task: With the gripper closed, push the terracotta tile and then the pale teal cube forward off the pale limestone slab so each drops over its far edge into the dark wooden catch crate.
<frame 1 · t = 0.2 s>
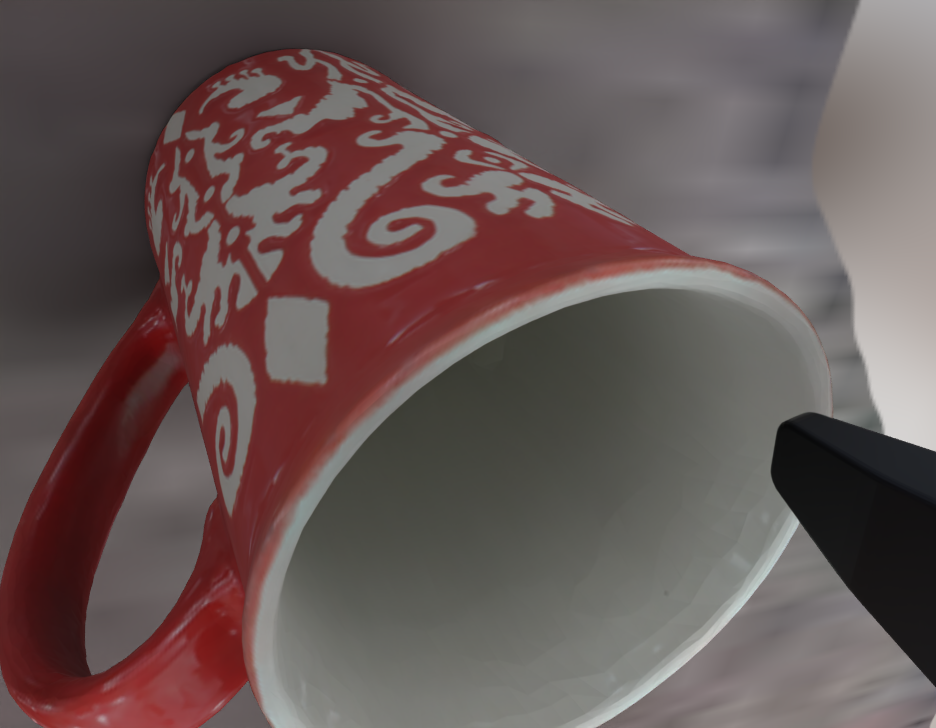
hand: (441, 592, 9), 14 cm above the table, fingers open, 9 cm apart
mug: (231, 221, 22), on the table
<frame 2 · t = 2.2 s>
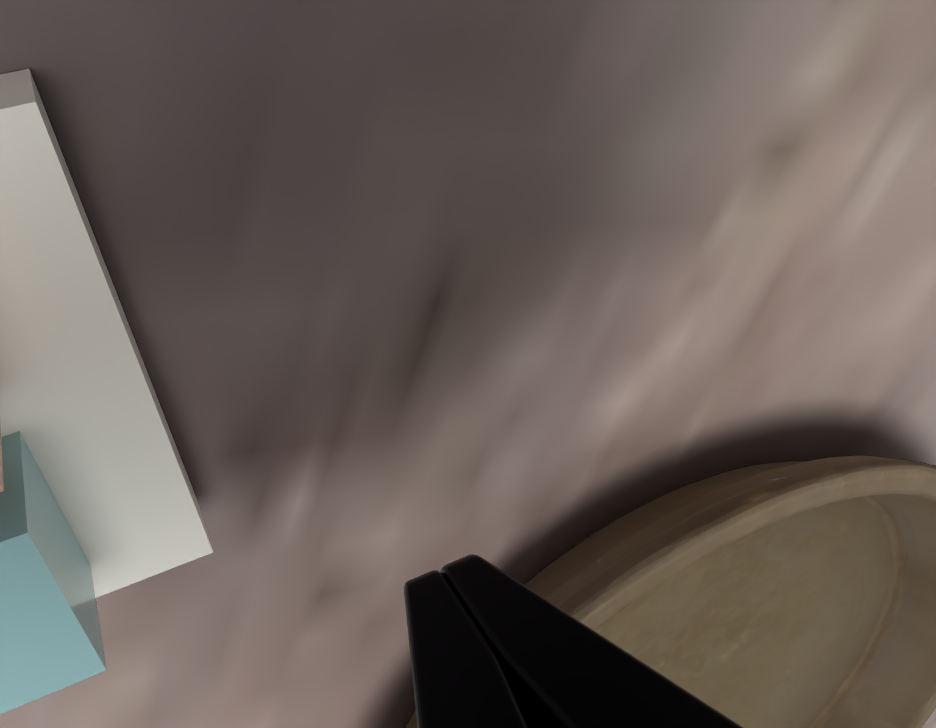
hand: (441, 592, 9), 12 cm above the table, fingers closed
plant saucer: (651, 690, 40), on the table
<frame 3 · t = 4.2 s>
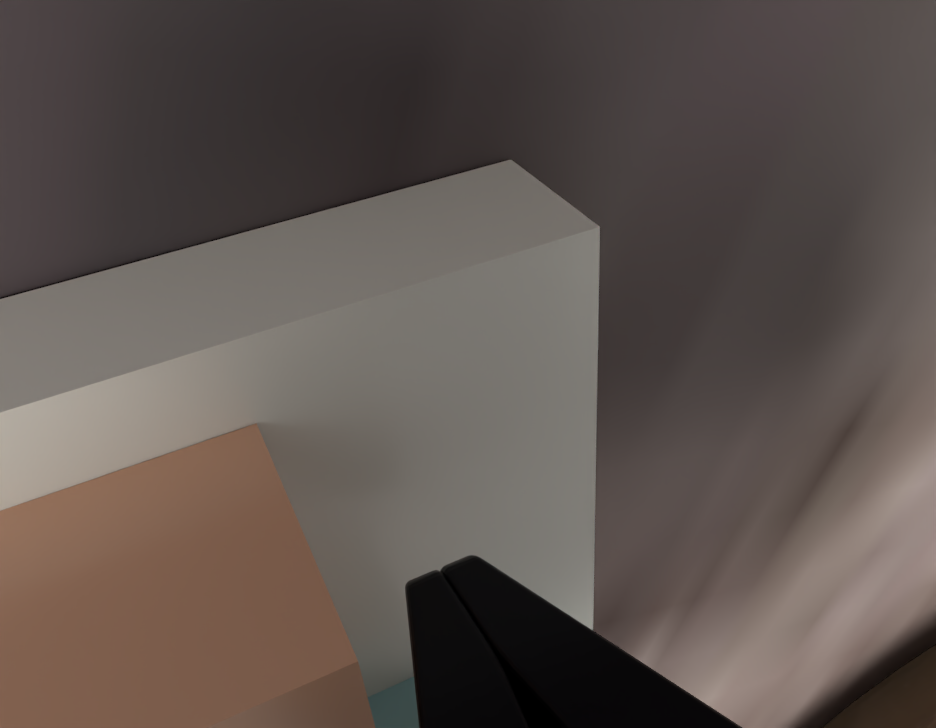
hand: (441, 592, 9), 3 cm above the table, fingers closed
bench slab: (214, 609, 12), on the table
tile terracotta: (112, 631, 9), point 2 cm above the table, touching bench slab, gripper
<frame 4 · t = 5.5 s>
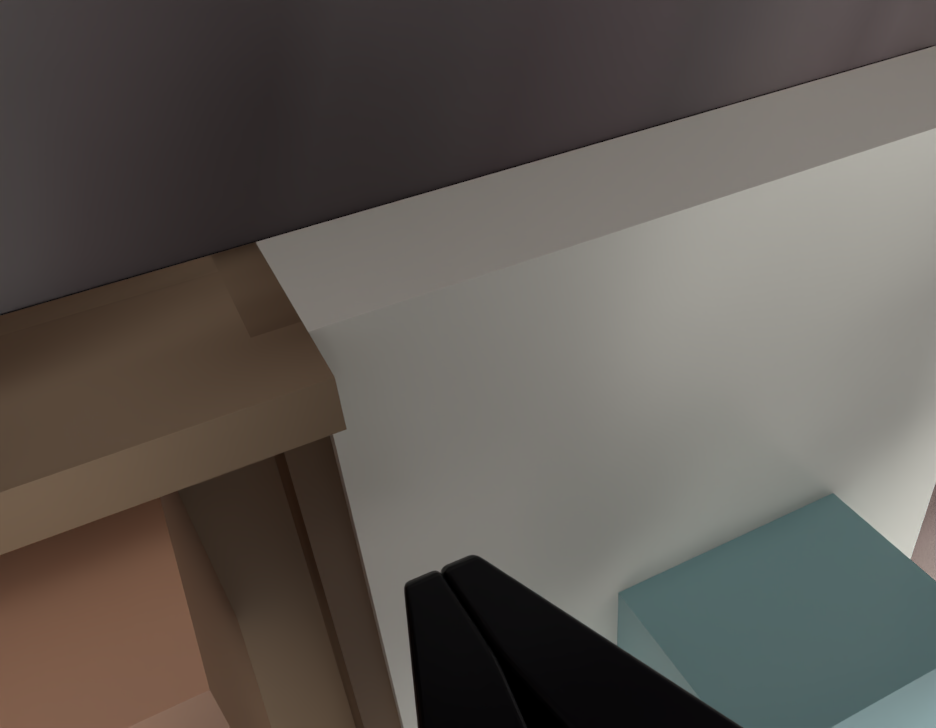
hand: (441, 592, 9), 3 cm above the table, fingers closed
bench slab: (629, 450, 14), on the table
pale teal cube: (719, 621, 15), point 2 cm above the table, touching bench slab
tile terracotta: (227, 644, 9), point 2 cm above the table, tilted 90°, touching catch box
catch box: (2, 708, 12), on the table
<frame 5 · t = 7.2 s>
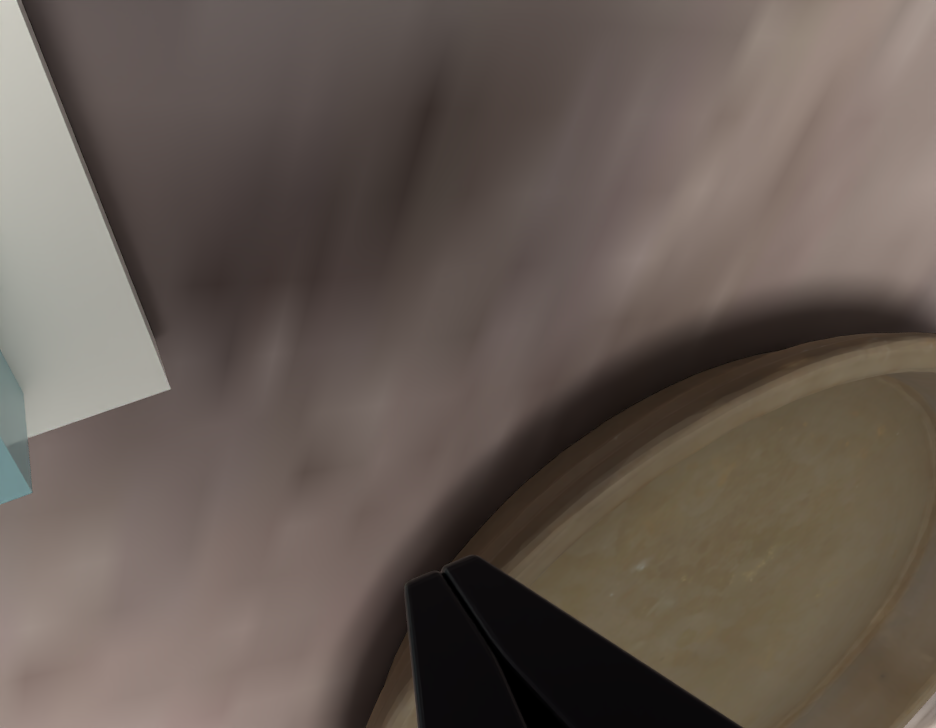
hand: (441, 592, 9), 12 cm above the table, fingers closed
plant saucer: (671, 613, 37), on the table
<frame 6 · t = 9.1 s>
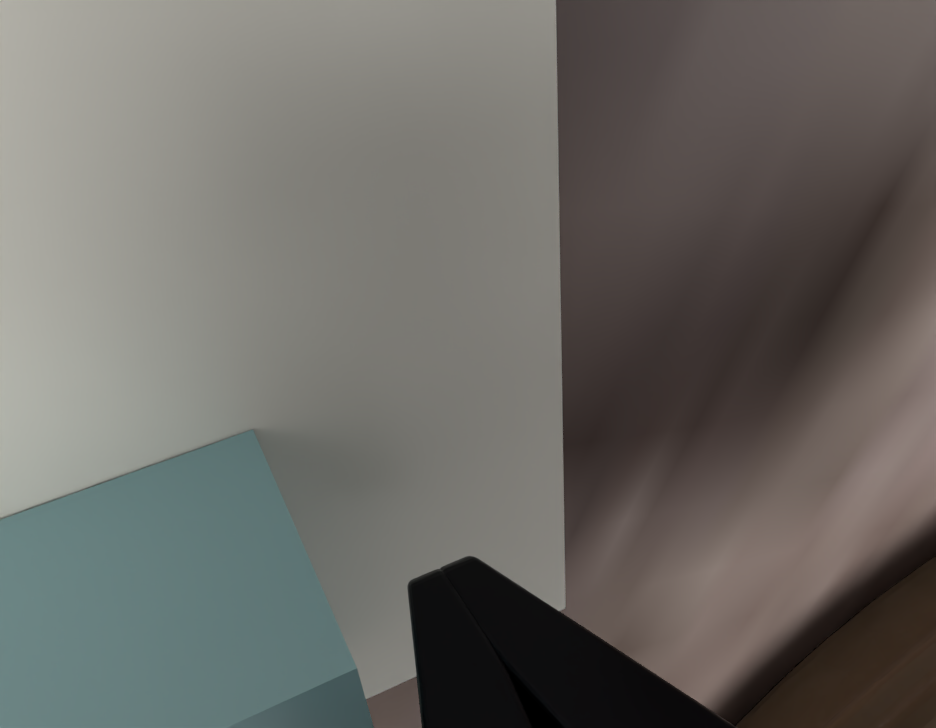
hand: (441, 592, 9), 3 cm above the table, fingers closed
bench slab: (53, 331, 9), on the table
pale teal cube: (112, 638, 9), point 2 cm above the table, touching gripper
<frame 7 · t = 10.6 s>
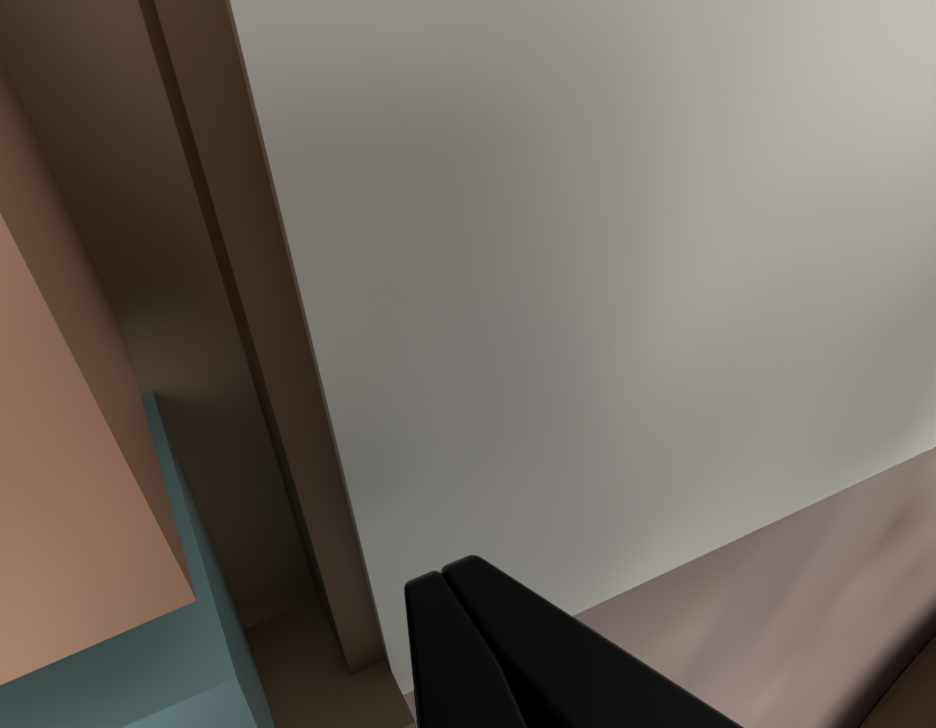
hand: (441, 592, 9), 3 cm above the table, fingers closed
bench slab: (640, 169, 11), on the table
pale teal cube: (239, 639, 9), point 2 cm above the table, tilted 90°, touching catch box
tile terracotta: (55, 229, 6), point 2 cm above the table, tilted 90°, touching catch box
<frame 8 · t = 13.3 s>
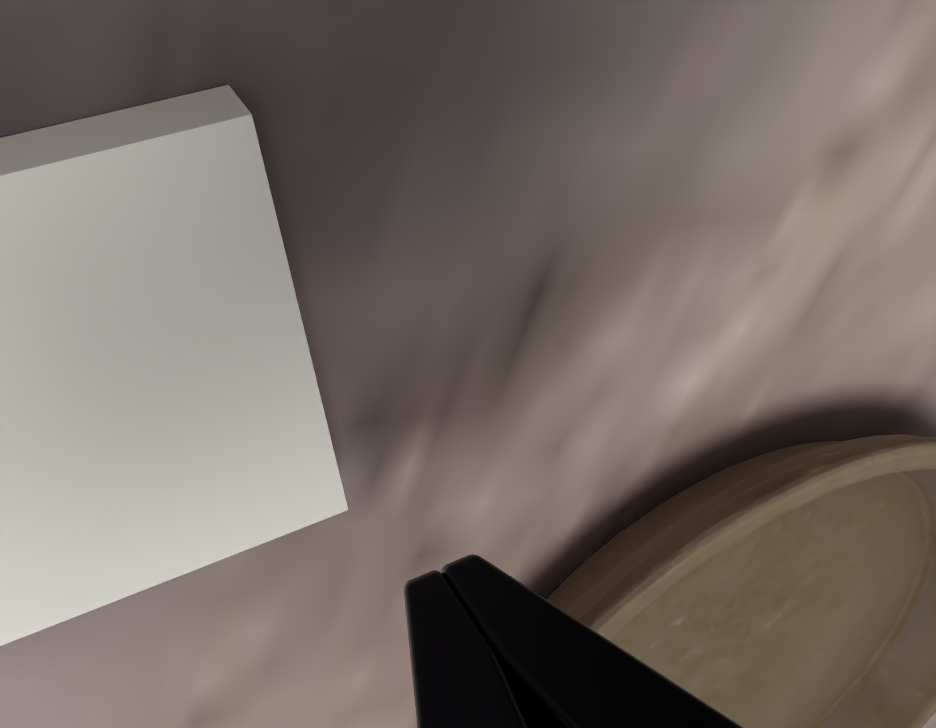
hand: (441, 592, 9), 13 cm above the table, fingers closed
bench slab: (75, 368, 20), on the table
plant saucer: (698, 657, 42), on the table
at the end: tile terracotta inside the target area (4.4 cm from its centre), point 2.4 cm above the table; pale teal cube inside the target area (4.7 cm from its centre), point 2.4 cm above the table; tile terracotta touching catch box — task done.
